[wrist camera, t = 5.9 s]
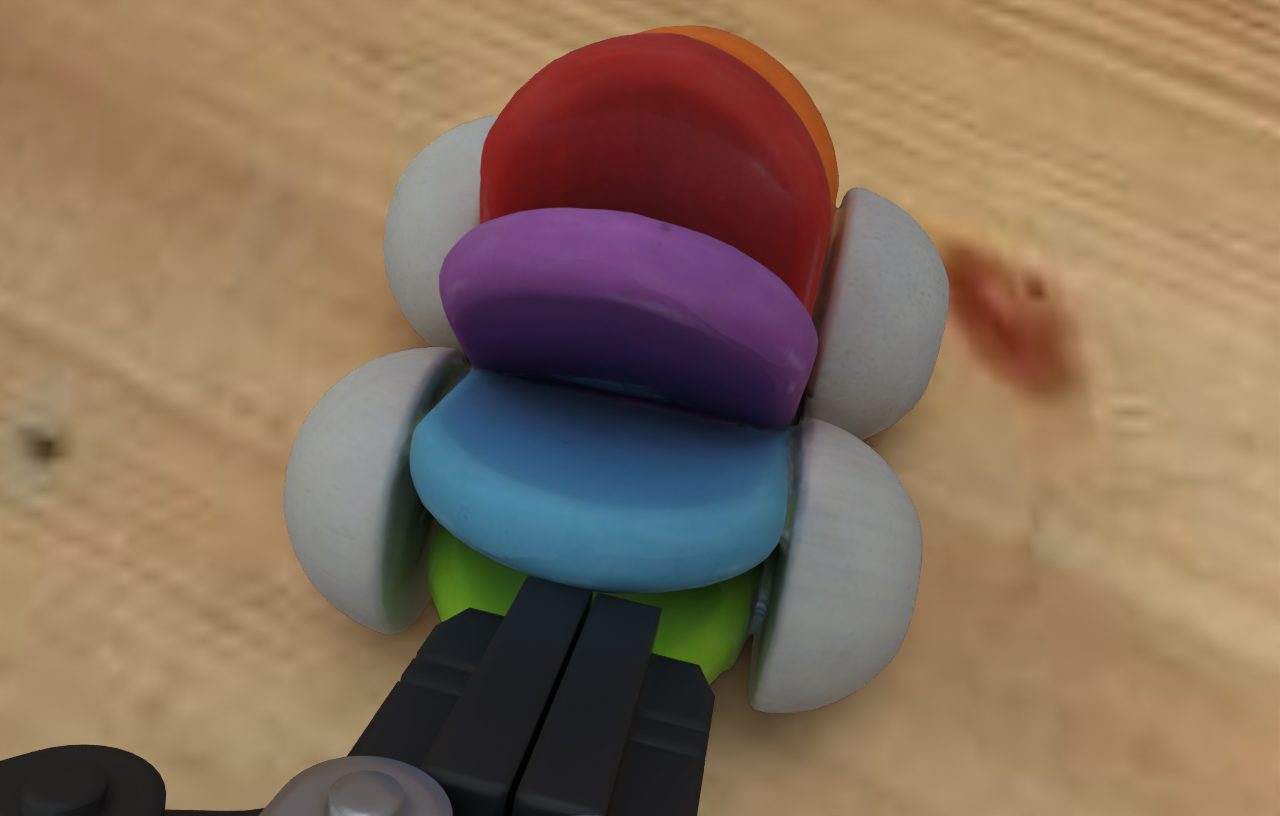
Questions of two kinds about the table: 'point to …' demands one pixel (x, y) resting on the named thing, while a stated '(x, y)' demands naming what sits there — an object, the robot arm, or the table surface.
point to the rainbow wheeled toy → (639, 374)
